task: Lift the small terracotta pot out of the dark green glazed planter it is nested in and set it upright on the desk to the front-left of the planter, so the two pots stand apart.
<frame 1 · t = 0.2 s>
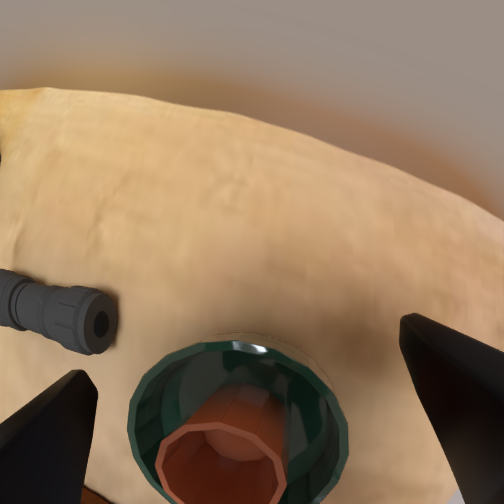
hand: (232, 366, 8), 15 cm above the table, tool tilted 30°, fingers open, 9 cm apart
planter: (243, 422, 21), on the table
flashlight: (54, 308, 25), on the table
small pot: (242, 425, 21), point 1 cm above the table, touching planter
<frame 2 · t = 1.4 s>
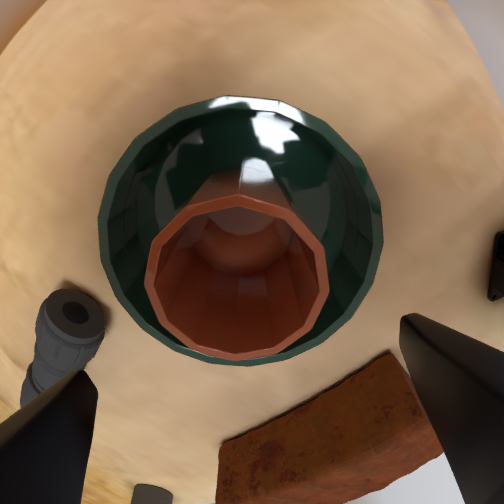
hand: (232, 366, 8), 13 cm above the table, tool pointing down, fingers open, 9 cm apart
planter: (240, 221, 20), on the table
bottle: (153, 491, 35), on the table
flashlight: (68, 351, 24), on the table
small pot: (240, 224, 19), point 1 cm above the table, touching planter
brick: (319, 421, 27), on the table
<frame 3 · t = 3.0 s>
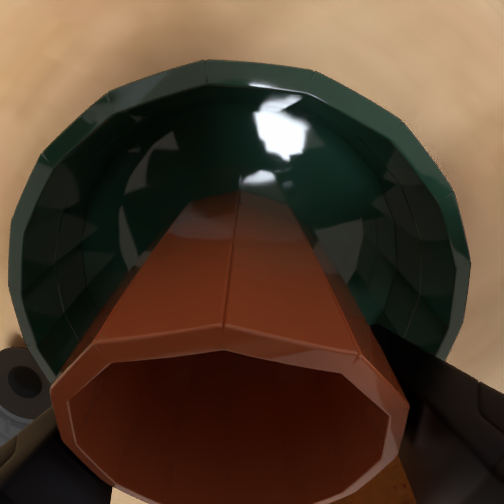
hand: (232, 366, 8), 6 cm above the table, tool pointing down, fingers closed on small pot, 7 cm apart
planter: (237, 273, 13), on the table
flashlight: (33, 407, 17), on the table
small pot: (236, 279, 12), point 1 cm above the table, touching gripper, planter
brick: (331, 481, 21), on the table
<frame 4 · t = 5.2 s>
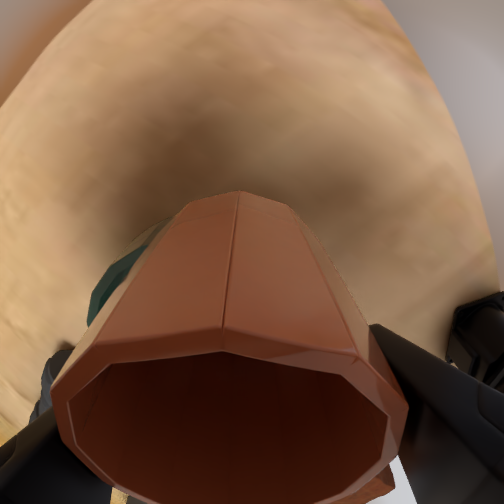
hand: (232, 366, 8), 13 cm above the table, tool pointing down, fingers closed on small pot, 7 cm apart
planter: (209, 309, 22), on the table
bottle: (145, 500, 37), on the table
flashlight: (68, 392, 26), on the table
small pot: (236, 280, 12), point 8 cm above the table, touching gripper
brick: (286, 453, 30), on the table
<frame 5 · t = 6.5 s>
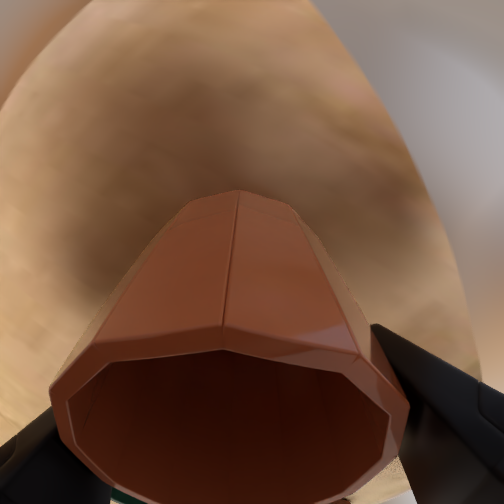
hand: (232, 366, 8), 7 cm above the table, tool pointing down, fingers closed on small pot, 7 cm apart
planter: (174, 435, 20), on the table
small pot: (236, 279, 12), point 2 cm above the table, touching gripper
when the fingers open (5 cm above the table, at t = 7.8 s): small pot stays where it is, on the table.
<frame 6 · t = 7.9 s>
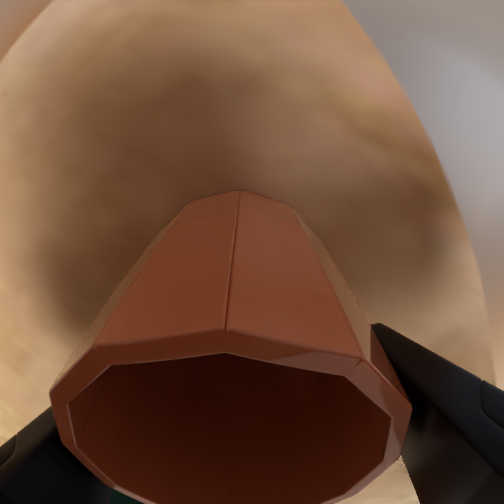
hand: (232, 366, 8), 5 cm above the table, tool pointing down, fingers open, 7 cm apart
small pot: (237, 280, 12), on the table
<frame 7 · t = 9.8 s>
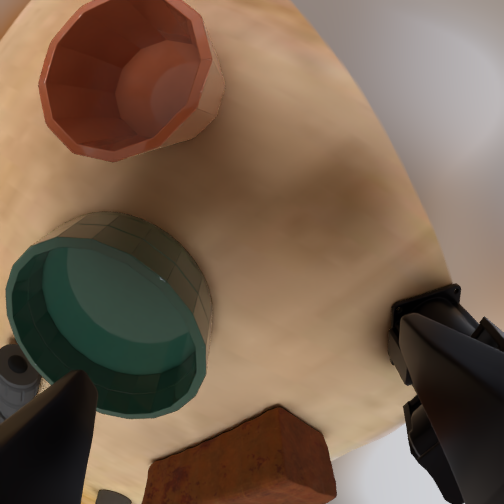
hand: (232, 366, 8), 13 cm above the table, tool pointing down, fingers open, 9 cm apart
planter: (118, 305, 22), on the table
bottle: (115, 495, 37), on the table
flashlight: (24, 385, 26), on the table
small pot: (166, 89, 16), on the table
brick: (230, 452, 30), on the table
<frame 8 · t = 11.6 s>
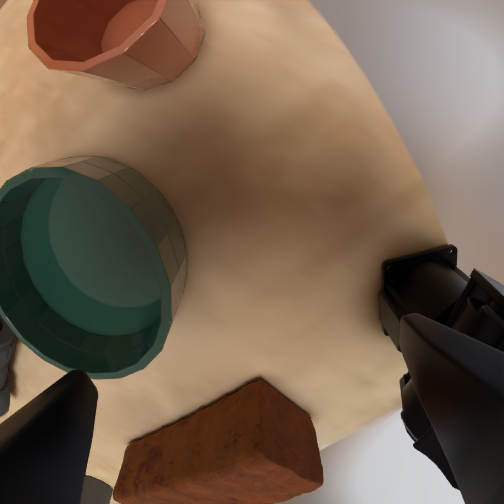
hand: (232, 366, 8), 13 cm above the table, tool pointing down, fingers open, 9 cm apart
planter: (92, 256, 21), on the table
bottle: (96, 483, 36), on the table
flashlight: (3, 353, 25), on the table
small pot: (148, 38, 15), on the table
brick: (211, 434, 28), on the table
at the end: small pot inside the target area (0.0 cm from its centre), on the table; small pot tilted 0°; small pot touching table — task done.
